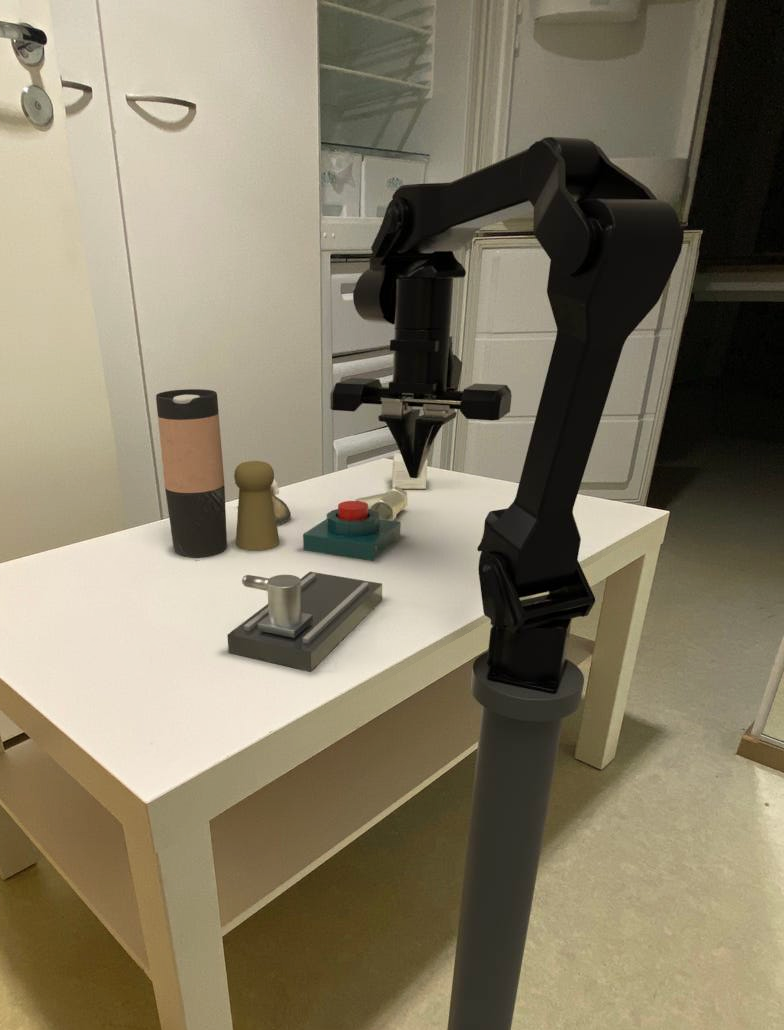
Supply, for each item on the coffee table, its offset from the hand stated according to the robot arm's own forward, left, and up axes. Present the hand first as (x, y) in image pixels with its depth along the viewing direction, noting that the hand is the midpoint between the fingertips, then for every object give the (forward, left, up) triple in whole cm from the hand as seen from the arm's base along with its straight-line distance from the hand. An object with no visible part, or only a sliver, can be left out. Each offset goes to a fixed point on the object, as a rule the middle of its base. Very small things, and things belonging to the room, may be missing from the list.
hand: (414, 477), depth 82 cm
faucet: (+6, +22, -10) cm, 25 cm away
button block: (+11, -8, -12) cm, 18 cm away
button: (+11, -8, -8) cm, 16 cm away
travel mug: (+29, +2, -12) cm, 32 cm away
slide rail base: (+5, +17, -12) cm, 21 cm away
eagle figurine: (+28, -14, -12) cm, 34 cm away
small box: (+14, -39, -12) cm, 43 cm away
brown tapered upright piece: (+23, -3, -12) cm, 26 cm away
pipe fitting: (+12, -20, -12) cm, 26 cm away
